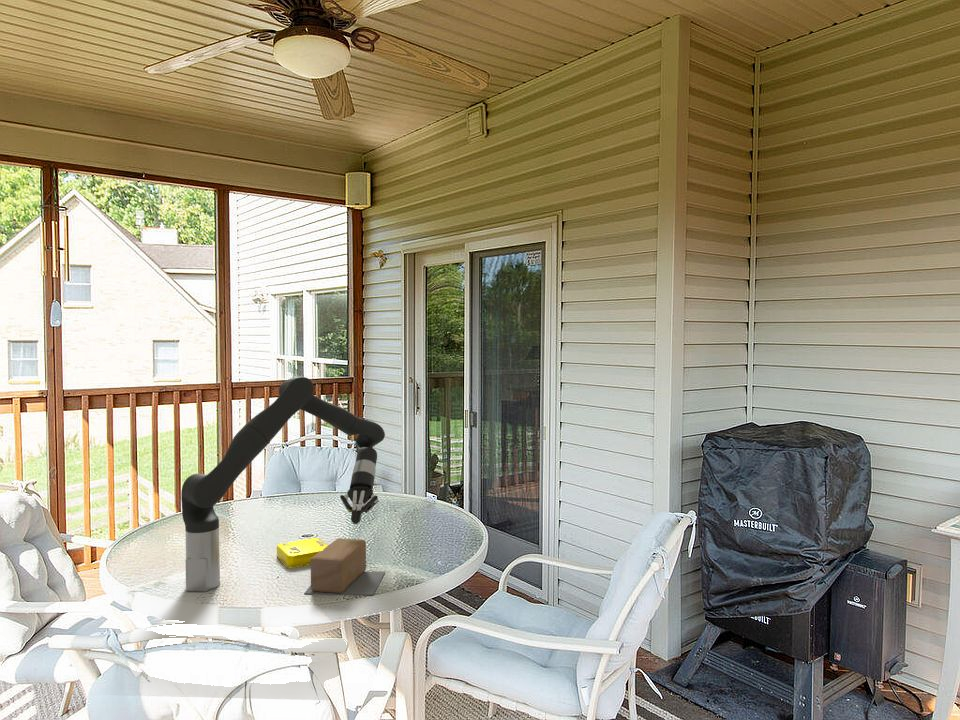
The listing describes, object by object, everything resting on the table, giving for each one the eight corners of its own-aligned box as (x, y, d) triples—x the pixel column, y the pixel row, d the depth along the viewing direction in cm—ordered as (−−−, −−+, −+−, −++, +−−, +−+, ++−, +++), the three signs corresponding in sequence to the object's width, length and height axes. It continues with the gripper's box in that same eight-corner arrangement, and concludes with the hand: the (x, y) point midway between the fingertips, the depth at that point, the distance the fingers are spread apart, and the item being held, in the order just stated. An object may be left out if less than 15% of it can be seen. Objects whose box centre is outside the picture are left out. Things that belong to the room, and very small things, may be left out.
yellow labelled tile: (333, 561, 219) (333, 547, 219) (288, 570, 211) (288, 555, 211) (318, 549, 231) (318, 535, 231) (275, 556, 223) (275, 542, 223)
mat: (373, 595, 189) (373, 594, 189) (304, 594, 190) (304, 593, 190) (384, 572, 207) (384, 571, 207) (322, 571, 208) (322, 570, 208)
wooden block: (367, 570, 208) (342, 594, 189) (337, 568, 210) (309, 592, 191) (366, 538, 208) (341, 560, 188) (337, 537, 210) (309, 557, 190)
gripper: (341, 470, 219) (332, 516, 207) (381, 470, 218) (373, 517, 207) (345, 482, 224) (336, 528, 213) (384, 482, 224) (377, 529, 212)
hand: (355, 522), depth 210 cm, fingers closed
